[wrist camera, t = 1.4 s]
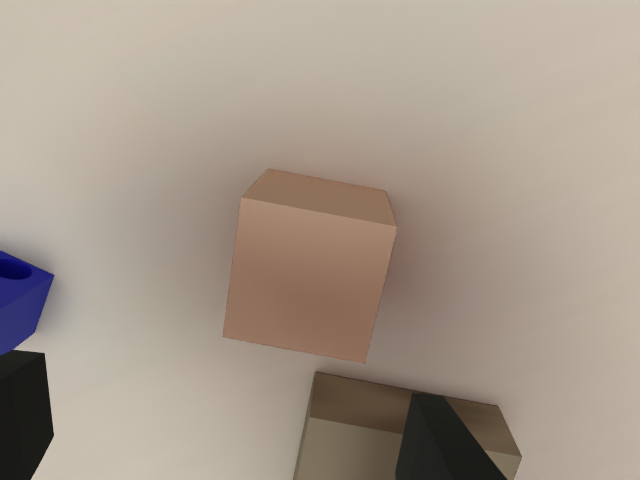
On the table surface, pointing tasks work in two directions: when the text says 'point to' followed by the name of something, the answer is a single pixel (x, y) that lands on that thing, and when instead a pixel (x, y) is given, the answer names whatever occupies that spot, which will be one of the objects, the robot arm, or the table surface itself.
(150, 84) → the table surface
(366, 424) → the olive block
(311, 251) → the light tan block
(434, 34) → the table surface
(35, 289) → the blue cradle block
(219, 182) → the table surface
